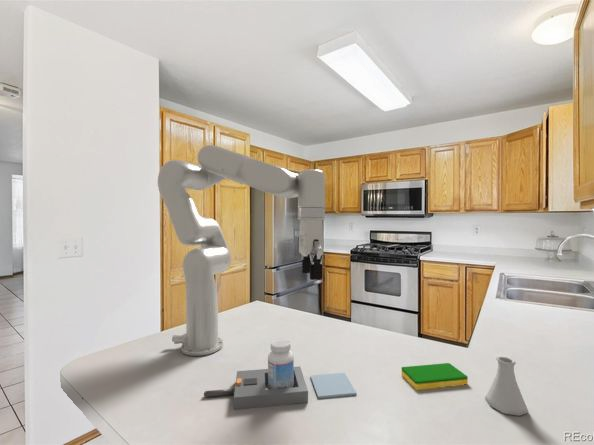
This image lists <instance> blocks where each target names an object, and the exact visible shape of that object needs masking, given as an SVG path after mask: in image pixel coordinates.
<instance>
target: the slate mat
mask: <svg viewBox="0 0 594 445" xmlns="http://www.w3.org/2000/svg"><path fill="white" fill-rule="evenodd" d="M310 380H311V382H312V385H313V388H314V390H315V394H316V397H317V399H327V398H338V397H348V396H349V397H351V396H357V394H358V393H357V392H356V390H355V388H354V386H353V385H352V383H351V381H350V379H349V378H348V376H347V374H346V373H345V372H336V373H335V372H334V373H325V374H324V373H323V374H312V375H311V374H310Z"/></svg>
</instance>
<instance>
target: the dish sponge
mask: <svg viewBox="0 0 594 445" xmlns="http://www.w3.org/2000/svg"><path fill="white" fill-rule="evenodd" d="M401 376H402V377H403V378H404V379H405V381H407V383H409V384H410V385H411V386H412V388H414V390H417V391H418V390H428V389H429V390H430V389H438V388H437V387H441V388H446V387H445V386H452V387H456V386H455V385H462V386H465V385H464V384H467V385H468V375H466V374H465V373H464V372H462V371H461V370H459V369H458V368H457V367H455V366H454V365H452V364H451V363H448V362H445V363H435V364H434V363H433V364H421V365H420V364H419V365H410V366H402V367H401ZM453 385H454V386H453Z"/></svg>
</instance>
